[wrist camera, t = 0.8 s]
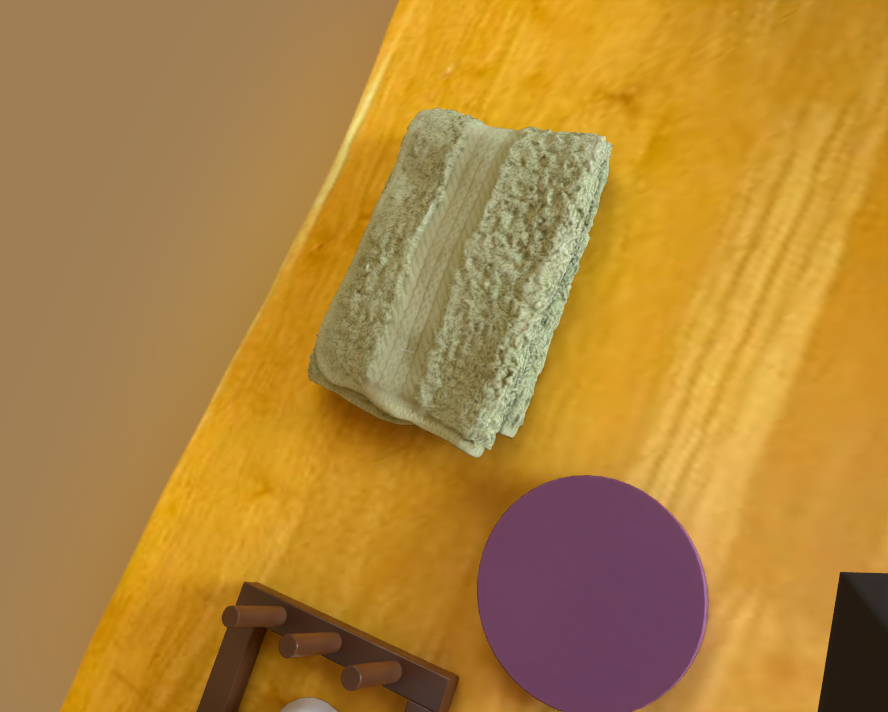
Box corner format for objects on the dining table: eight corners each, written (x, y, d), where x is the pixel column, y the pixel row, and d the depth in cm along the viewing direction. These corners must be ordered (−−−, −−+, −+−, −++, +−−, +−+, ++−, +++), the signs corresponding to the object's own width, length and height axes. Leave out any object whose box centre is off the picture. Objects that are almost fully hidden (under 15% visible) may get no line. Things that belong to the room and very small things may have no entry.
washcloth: (311, 390, 43) (277, 376, 40) (431, 122, 45) (408, 90, 42) (510, 474, 37) (487, 463, 34) (638, 157, 39) (627, 122, 36)
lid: (522, 454, 37) (514, 449, 36) (734, 516, 32) (732, 513, 31) (458, 658, 35) (448, 660, 34) (673, 756, 30) (669, 761, 29)
